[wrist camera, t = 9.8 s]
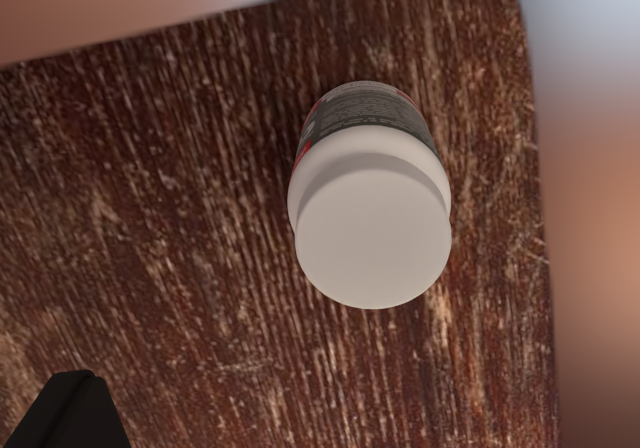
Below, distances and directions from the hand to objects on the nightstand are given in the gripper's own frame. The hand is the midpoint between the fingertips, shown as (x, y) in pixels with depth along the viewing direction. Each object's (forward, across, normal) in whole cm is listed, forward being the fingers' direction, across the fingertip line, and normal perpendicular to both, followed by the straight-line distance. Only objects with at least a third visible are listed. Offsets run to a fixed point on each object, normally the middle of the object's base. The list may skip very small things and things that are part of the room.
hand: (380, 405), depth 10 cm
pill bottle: (+14, 0, 0) cm, 14 cm away
